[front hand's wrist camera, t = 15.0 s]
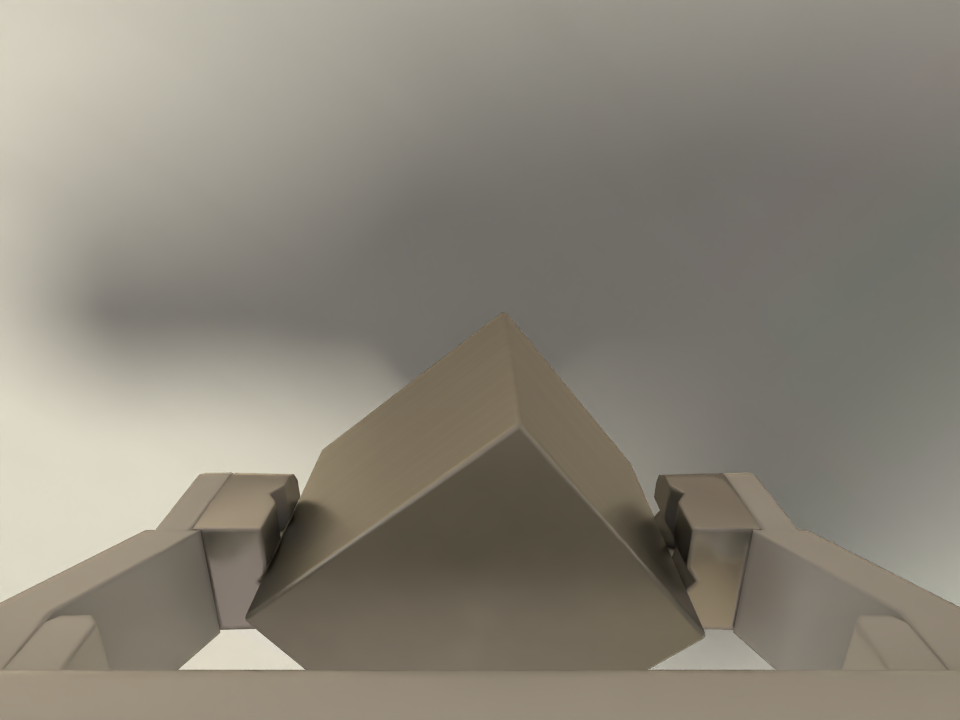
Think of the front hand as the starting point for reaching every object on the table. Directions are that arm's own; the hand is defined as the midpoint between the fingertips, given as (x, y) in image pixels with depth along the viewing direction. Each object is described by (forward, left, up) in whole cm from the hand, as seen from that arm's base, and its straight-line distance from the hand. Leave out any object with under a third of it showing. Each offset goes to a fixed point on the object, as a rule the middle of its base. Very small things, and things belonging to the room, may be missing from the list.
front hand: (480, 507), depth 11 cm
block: (0, 0, -2) cm, 2 cm away
